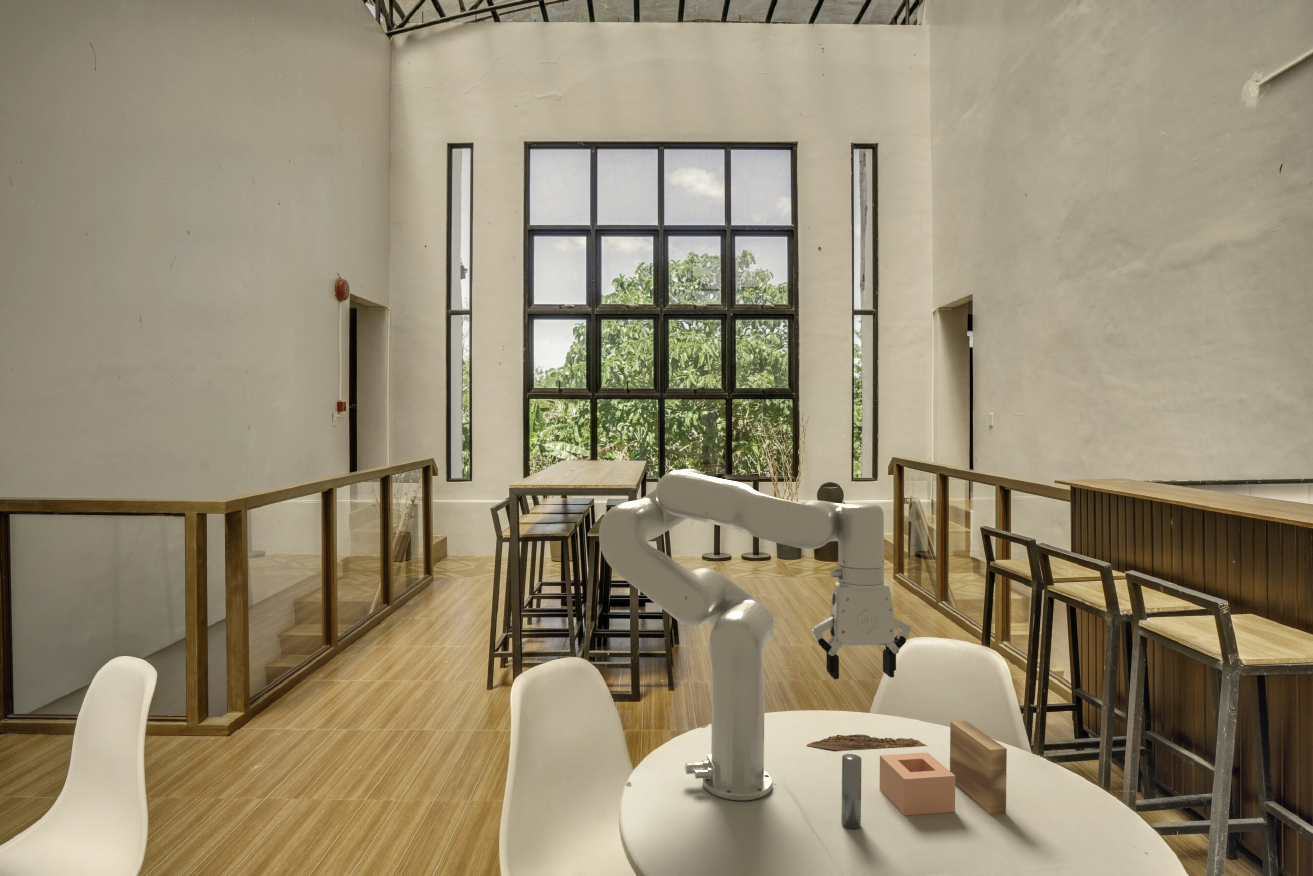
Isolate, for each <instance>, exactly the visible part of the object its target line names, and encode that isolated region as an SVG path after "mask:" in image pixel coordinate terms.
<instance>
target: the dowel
mask: <svg viewBox="0 0 1313 876" xmlns="http://www.w3.org/2000/svg"><path fill="white" fill-rule="evenodd" d="M841 758H842V759H841V822H840V823H841V826H842V827H843V828H845V829H847V830H850V831H857V830H859V829H861V827H862V757H861V756H859V755H858V754H853V753H845V754H843V755H842V756H841Z"/></svg>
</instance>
